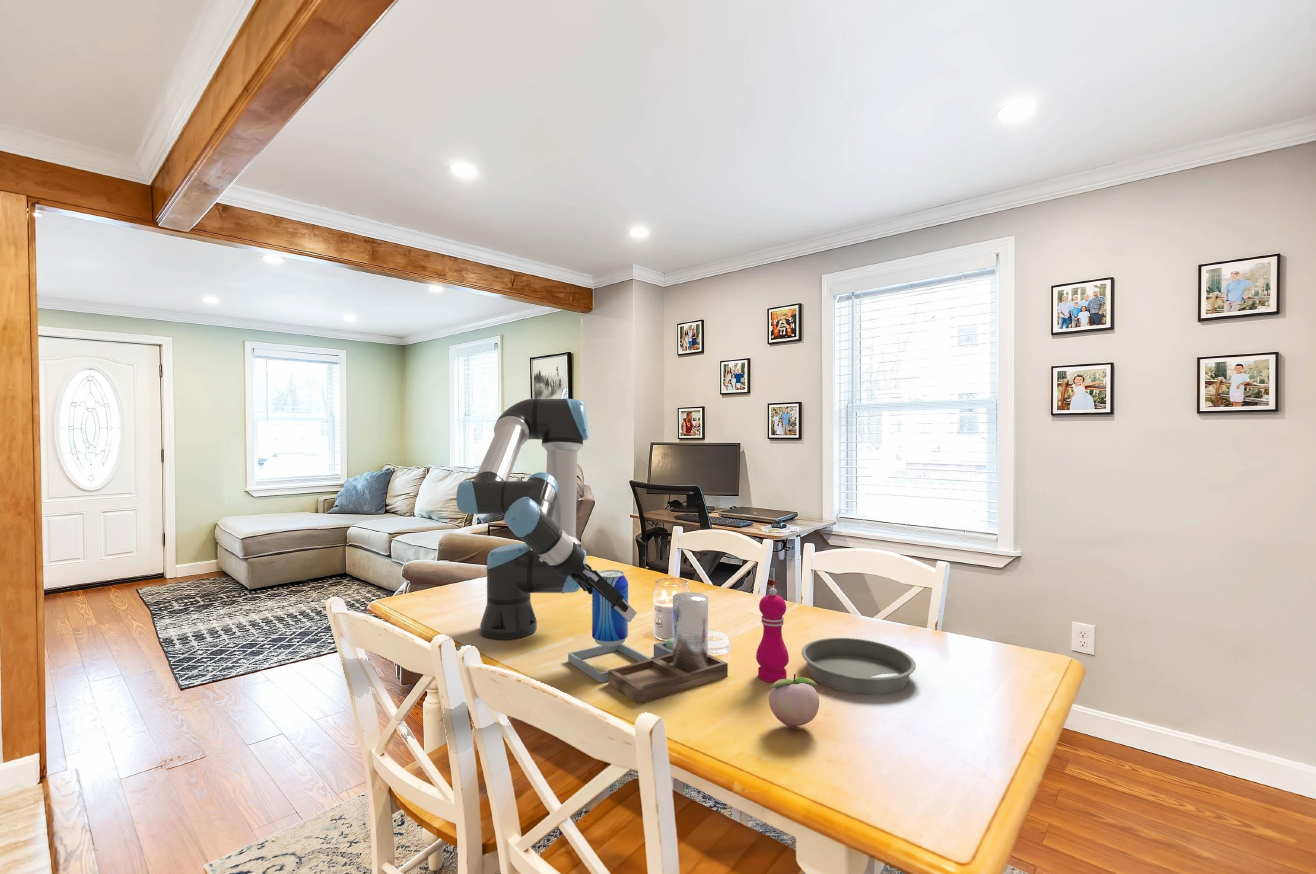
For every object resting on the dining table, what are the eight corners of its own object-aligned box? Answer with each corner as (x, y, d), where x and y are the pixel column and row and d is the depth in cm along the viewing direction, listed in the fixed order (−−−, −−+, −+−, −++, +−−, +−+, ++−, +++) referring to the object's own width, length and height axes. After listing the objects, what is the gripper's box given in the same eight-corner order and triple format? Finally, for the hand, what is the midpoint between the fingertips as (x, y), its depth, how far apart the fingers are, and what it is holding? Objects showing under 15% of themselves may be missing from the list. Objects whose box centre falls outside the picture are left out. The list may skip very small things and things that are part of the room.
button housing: (653, 656, 148) (653, 644, 148) (676, 650, 152) (676, 638, 152) (670, 665, 142) (671, 652, 142) (693, 659, 146) (694, 646, 146)
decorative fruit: (787, 744, 106) (787, 687, 106) (761, 723, 114) (761, 670, 114) (830, 733, 110) (830, 679, 110) (802, 714, 117) (802, 663, 117)
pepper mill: (791, 674, 137) (792, 586, 137) (784, 686, 131) (785, 593, 130) (760, 668, 140) (761, 582, 140) (752, 680, 134) (752, 590, 134)
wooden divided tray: (608, 684, 131) (608, 670, 131) (693, 660, 145) (693, 647, 145) (639, 704, 121) (639, 689, 121) (727, 676, 136) (727, 663, 136)
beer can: (622, 648, 137) (623, 578, 137) (587, 645, 139) (587, 576, 138) (631, 636, 145) (632, 569, 145) (598, 633, 147) (598, 568, 146)
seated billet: (665, 665, 138) (665, 595, 138) (692, 658, 142) (692, 590, 142) (687, 677, 131) (687, 604, 131) (715, 669, 136) (715, 598, 136)
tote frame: (568, 661, 144) (568, 653, 144) (618, 649, 152) (618, 641, 152) (600, 683, 132) (600, 674, 132) (653, 668, 140) (653, 659, 140)
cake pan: (795, 688, 130) (795, 667, 130) (807, 650, 153) (807, 632, 153) (919, 707, 122) (919, 684, 121) (912, 663, 145) (912, 644, 145)
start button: (663, 656, 147) (663, 640, 147) (675, 653, 149) (675, 637, 149) (672, 661, 144) (672, 644, 144) (684, 657, 146) (684, 641, 146)
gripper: (530, 557, 141) (590, 613, 151) (573, 577, 124) (637, 638, 134) (551, 532, 144) (608, 589, 154) (595, 548, 127) (657, 610, 137)
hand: (622, 612), depth 144 cm, fingers closed on beer can, 8 cm apart
